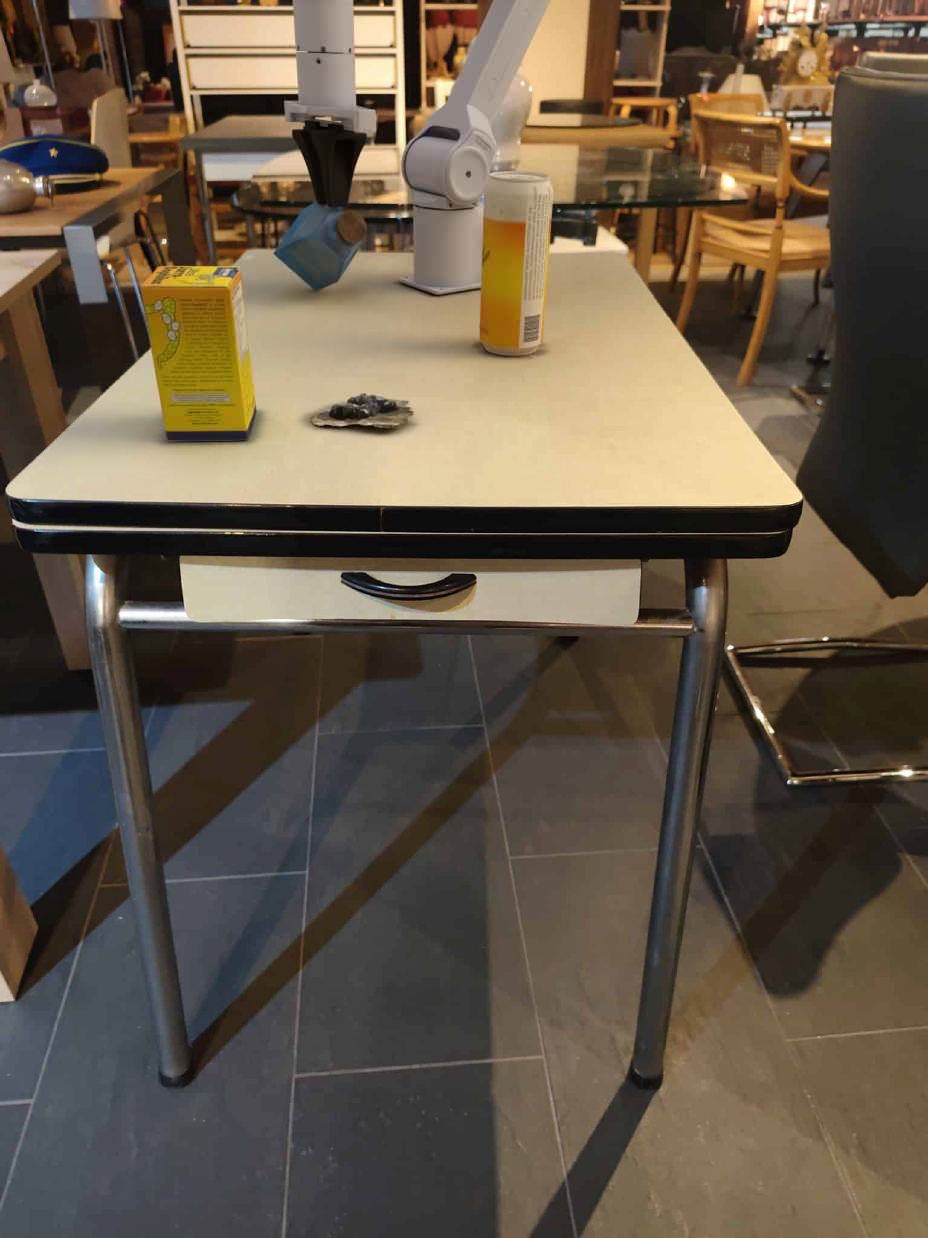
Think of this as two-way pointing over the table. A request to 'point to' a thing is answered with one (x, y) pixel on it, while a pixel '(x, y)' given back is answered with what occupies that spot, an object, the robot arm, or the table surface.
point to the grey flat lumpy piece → (365, 412)
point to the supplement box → (200, 352)
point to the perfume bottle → (322, 244)
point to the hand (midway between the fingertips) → (332, 205)
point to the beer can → (515, 261)
